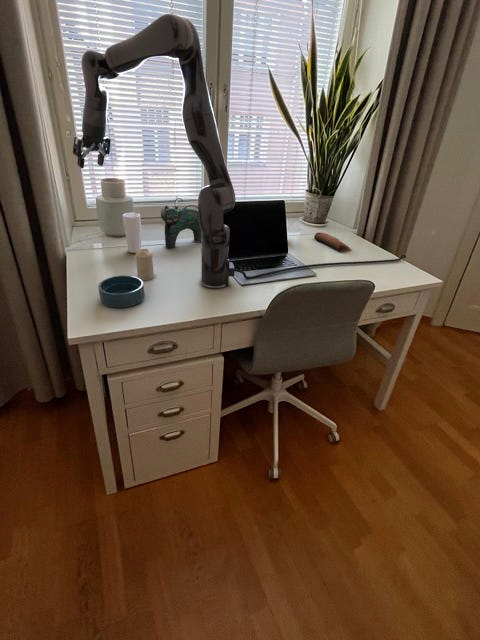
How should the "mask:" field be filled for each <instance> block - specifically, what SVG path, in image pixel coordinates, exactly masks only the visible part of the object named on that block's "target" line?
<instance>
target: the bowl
mask: <svg viewBox="0 0 480 640" xmlns="http://www.w3.org/2000/svg"><path fill="white" fill-rule="evenodd" d="M97 289H98V295H99V300H100V302H101V303H102V304H103V305H104V306H107V307H109V308H110V307H111V308H119V309H121V308H122V309H123V308H129V307H132V306H135V305H137V304H139V303H141V302H142V301H143V300H145V286H144V280H142V279H139V278H138V276H134V275H126V274H125V275H124V274H123V275H114V276H110V277H107V278H105V279H103V280H102V281H100V282H99V283H98V285H97Z"/></svg>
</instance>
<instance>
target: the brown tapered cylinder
mask: <svg viewBox="0 0 480 640" xmlns="http://www.w3.org/2000/svg"><path fill="white" fill-rule="evenodd" d="M313 238H314V240H317V241H320V242H322V243H324V244H326V245H329V246H330V247H332V248H334V249H336V250H337V251H339V253H341V252H348V251H351V250H352V249H351V248H350V247H349V246H348V245H347V244H346V243H345V242H342V241H341V240H340V239H339V238H338V237H335V236H333V235H331V234H328V233H326V232H320V231H319V232H316V233H315V234H314V235H313Z"/></svg>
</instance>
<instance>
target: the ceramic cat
mask: <svg viewBox="0 0 480 640" xmlns="http://www.w3.org/2000/svg"><path fill="white" fill-rule="evenodd" d="M178 200H180V201H182V202H184V200H183V199H182V198H180V197H178V198H176V199H174V203H176V202H177V201H178ZM193 207H194V208H193ZM195 208H197V209H195ZM160 218H161V220H162V221H163V222H164V243H165V247H166V248H168V249H173V248H176V242H177V239H178V236H179V235H180V232H183V231H184V230H190V231H191V232H192V235H193V241H194V242H195V243H201V229H200V226H199V215H198V205H195V204H190V205H189V204H188V205H186V206H184V207H180V208H179V206H176V205H174V207H173V206H170V205H167V204H166V205H165V206H164V207H162V208H161V210H160Z"/></svg>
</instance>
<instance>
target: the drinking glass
mask: <svg viewBox="0 0 480 640" xmlns="http://www.w3.org/2000/svg"><path fill="white" fill-rule="evenodd" d="M122 225H123V229H124V234H125V239H126V244H127V251H128V252H129V253H131V254H136V253H137V252H138V251H139V250H142V249H143V248H142V219H141V214H140V213H138V212H125V213H123V214H122Z"/></svg>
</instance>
